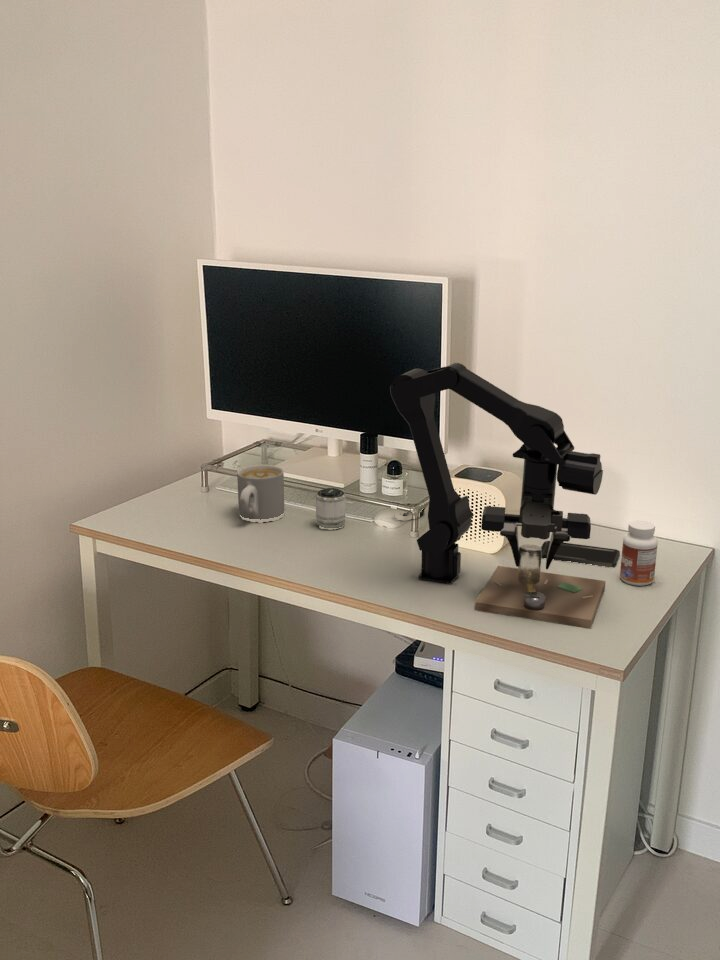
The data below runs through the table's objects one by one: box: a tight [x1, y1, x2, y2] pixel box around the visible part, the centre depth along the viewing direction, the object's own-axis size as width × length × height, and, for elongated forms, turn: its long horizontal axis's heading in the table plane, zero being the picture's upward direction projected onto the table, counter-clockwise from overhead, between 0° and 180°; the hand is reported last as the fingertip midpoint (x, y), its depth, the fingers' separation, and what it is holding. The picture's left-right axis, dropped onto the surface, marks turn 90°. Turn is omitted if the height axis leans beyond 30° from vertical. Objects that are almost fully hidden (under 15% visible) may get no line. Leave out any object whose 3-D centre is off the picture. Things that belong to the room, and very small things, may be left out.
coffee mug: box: [236, 464, 285, 520], centre depth 220 cm, size 13×10×10 cm
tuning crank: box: [517, 544, 546, 609], centre depth 180 cm, size 13×4×7 cm, turn 179°
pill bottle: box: [619, 519, 659, 587], centre depth 188 cm, size 6×6×11 cm
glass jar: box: [315, 487, 347, 528], centre depth 216 cm, size 6×6×8 cm
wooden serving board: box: [474, 565, 606, 629], centre depth 182 cm, size 20×17×2 cm
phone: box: [540, 540, 621, 568], centre depth 201 cm, size 8×1×15 cm
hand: (532, 567), depth 182 cm, fingers open, 5 cm apart
